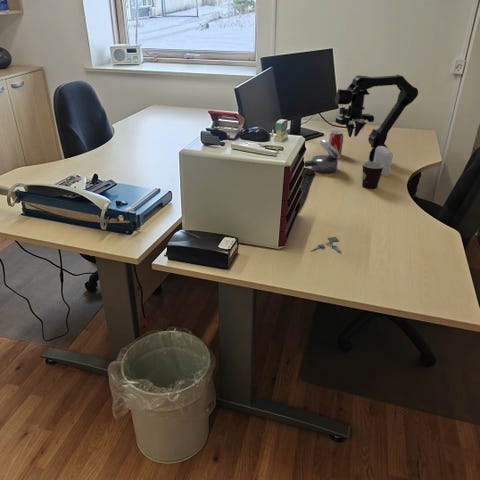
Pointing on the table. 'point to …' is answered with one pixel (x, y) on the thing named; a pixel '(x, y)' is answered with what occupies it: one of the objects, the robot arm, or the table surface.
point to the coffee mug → (371, 174)
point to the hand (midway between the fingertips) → (352, 136)
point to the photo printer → (383, 159)
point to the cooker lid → (330, 149)
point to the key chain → (331, 239)
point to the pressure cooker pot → (323, 164)
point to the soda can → (336, 140)
